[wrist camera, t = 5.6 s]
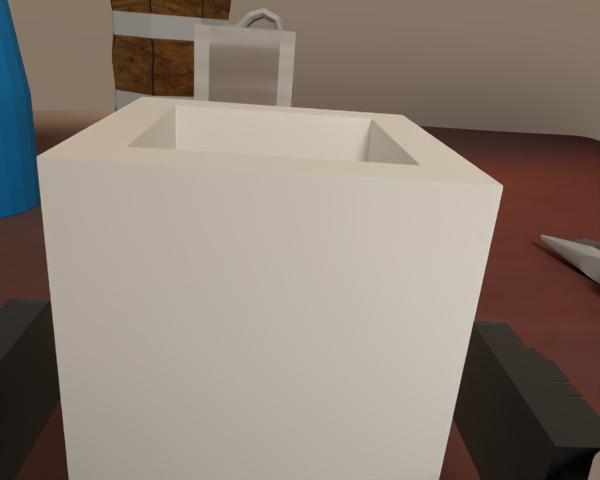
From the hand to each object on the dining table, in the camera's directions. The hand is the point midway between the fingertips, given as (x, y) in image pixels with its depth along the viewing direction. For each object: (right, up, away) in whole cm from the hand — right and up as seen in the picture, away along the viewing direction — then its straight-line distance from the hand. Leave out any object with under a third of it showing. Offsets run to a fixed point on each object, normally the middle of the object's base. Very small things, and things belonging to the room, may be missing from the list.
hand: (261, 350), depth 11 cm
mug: (-11, +15, +54) cm, 57 cm away
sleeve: (-1, -6, +2) cm, 7 cm away
